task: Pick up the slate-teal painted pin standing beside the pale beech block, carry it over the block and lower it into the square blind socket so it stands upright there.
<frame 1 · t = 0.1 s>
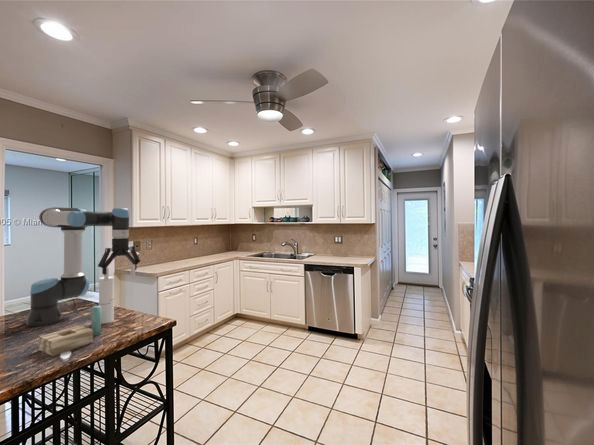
hand: (120, 278, 152), 28 cm above the table, fingers open, 13 cm apart
cylindrical container: (106, 321, 167), on the table
block: (67, 345, 135), on the table
pin: (96, 334, 148), on the table
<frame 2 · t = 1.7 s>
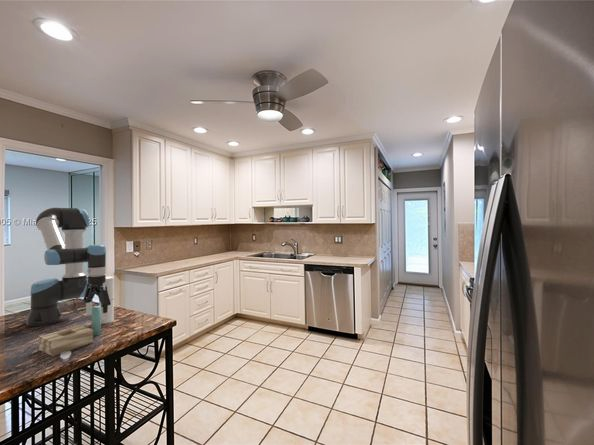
hand: (96, 317, 148), 9 cm above the table, fingers open, 13 cm apart
nothing on the table moved.
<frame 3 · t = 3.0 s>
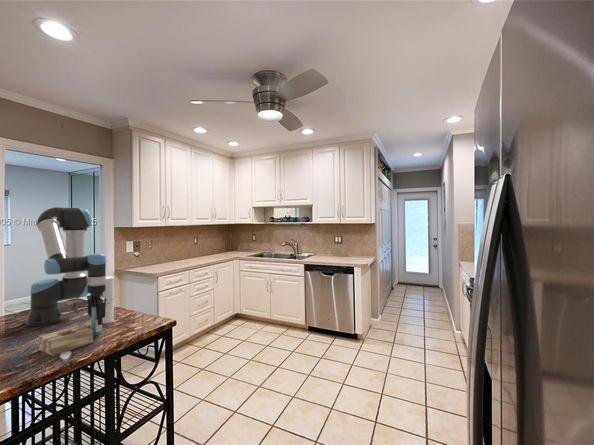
hand: (96, 330, 148), 2 cm above the table, fingers closed on pin, 4 cm apart
pin: (96, 334, 148), on the table, touching gripper
everything else where it was.
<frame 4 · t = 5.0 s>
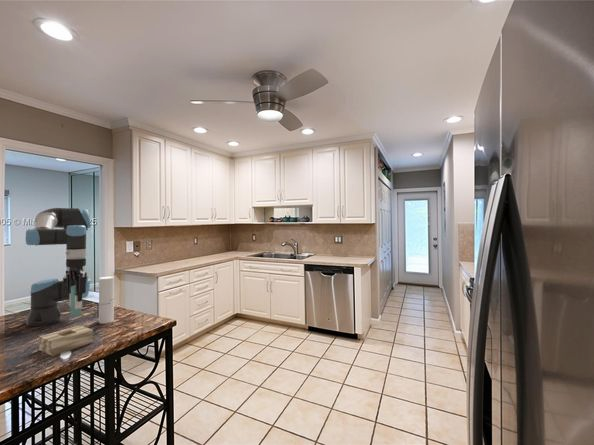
hand: (75, 307, 138), 17 cm above the table, fingers closed on pin, 4 cm apart
pin: (75, 315, 138), point 13 cm above the table, touching gripper
everything else where it was.
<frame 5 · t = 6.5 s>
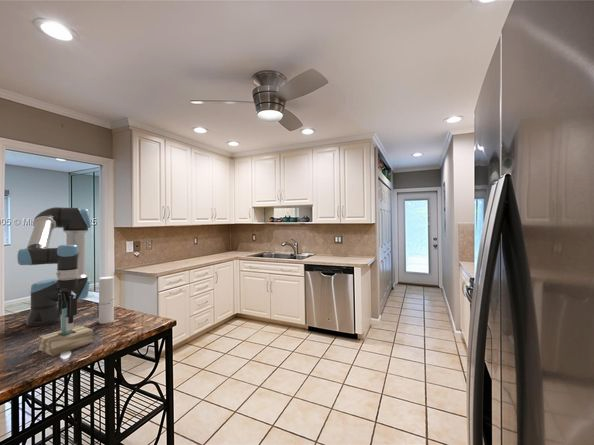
hand: (67, 329, 134), 8 cm above the table, fingers closed on pin, 4 cm apart
pin: (67, 338, 134), point 3 cm above the table, touching gripper
everything else where it was.
when the fingers open (7 cm above the table, at t = 7.0 s): pin stays where it is, resting on block.
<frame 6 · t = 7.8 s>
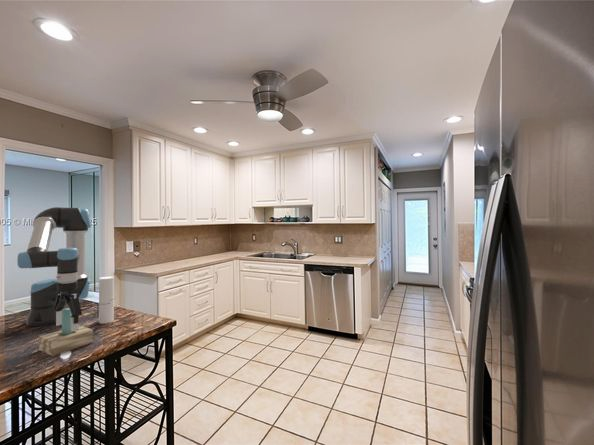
hand: (67, 327, 134), 9 cm above the table, fingers open, 13 cm apart
pin: (67, 339, 134), point 3 cm above the table, touching block
everything else where it was.
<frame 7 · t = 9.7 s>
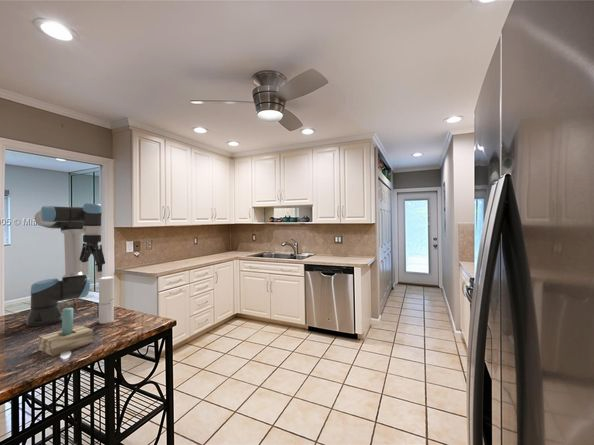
hand: (91, 276, 147), 30 cm above the table, fingers open, 13 cm apart
nothing on the table moved.
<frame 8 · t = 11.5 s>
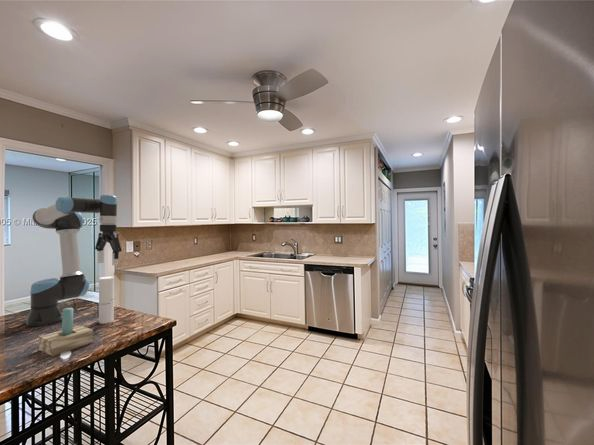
hand: (107, 264, 155), 35 cm above the table, fingers open, 13 cm apart
nothing on the table moved.
at the end: pin 0.1 cm off-centre on the block, point 3.1 cm above the block's base; pin tilted 1°; the gripper is holding nothing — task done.
